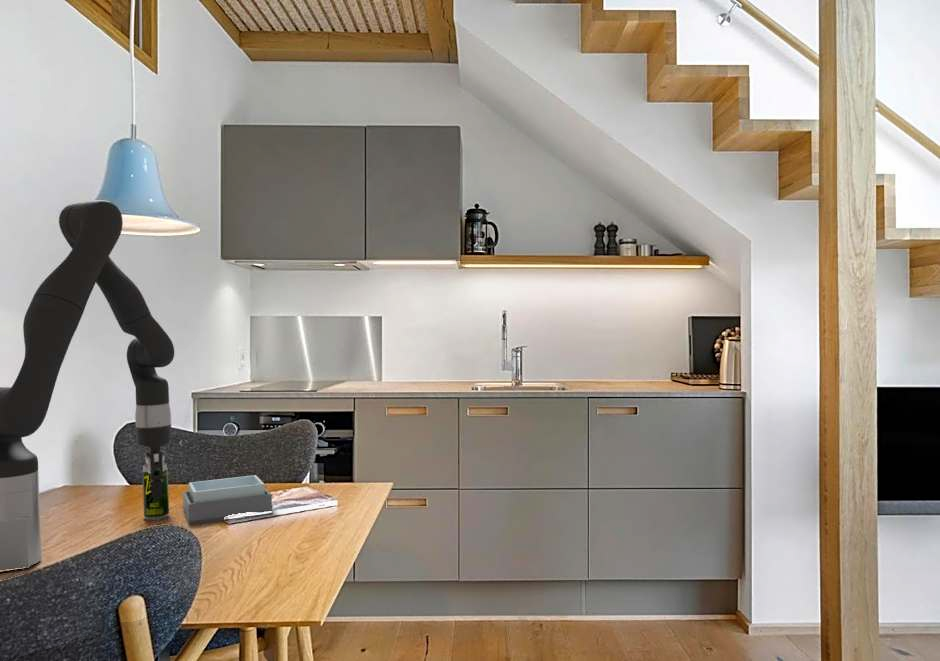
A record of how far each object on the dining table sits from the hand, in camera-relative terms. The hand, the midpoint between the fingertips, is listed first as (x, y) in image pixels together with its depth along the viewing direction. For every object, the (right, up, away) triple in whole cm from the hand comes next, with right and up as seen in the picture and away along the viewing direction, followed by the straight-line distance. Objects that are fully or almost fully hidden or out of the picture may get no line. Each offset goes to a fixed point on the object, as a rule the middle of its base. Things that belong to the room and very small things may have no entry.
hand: (156, 494), depth 173 cm
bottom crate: (+15, -5, +3) cm, 16 cm away
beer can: (0, -6, 0) cm, 6 cm away
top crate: (+15, -5, +3) cm, 16 cm away
